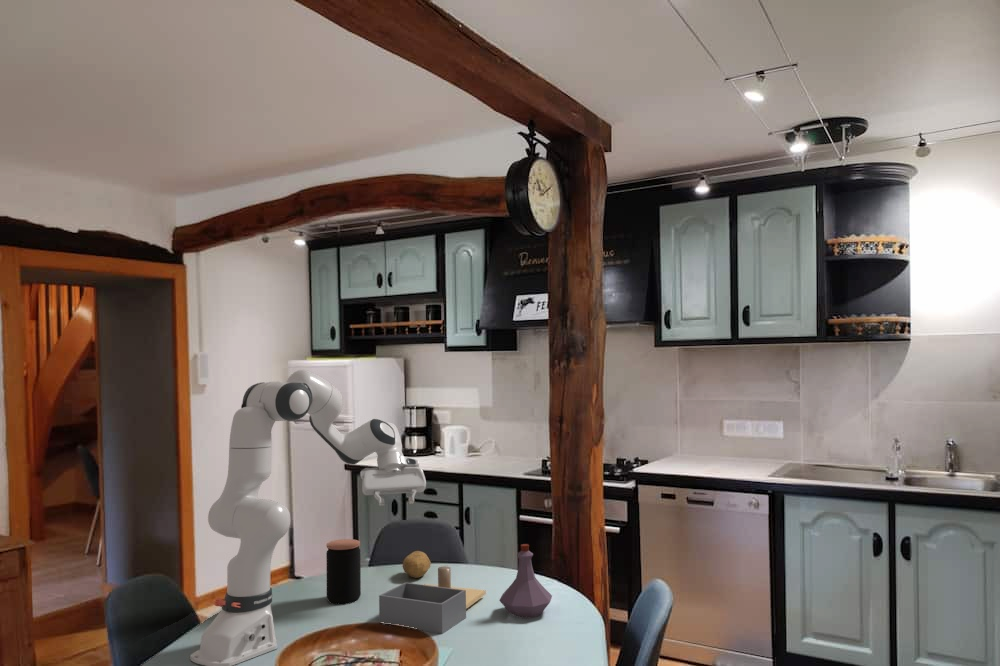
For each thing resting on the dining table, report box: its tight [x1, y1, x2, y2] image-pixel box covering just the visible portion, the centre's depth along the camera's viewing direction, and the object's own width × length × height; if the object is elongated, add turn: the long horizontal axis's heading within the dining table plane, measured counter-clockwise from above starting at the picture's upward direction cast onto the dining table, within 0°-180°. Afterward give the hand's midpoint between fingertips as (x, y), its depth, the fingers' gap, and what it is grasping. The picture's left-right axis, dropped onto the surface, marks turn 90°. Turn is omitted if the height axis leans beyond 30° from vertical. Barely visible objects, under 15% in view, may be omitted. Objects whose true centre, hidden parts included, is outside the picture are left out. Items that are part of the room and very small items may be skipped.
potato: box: [402, 550, 432, 579], centre depth 256 cm, size 10×14×8 cm
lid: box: [423, 566, 487, 610], centre depth 229 cm, size 15×22×11 cm
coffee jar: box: [325, 538, 362, 605], centre depth 232 cm, size 11×11×18 cm
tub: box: [378, 581, 467, 635], centre depth 211 cm, size 14×21×8 cm, turn 65°
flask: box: [499, 543, 553, 618], centre depth 217 cm, size 16×16×20 cm
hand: (397, 503), depth 226 cm, fingers open, 8 cm apart
